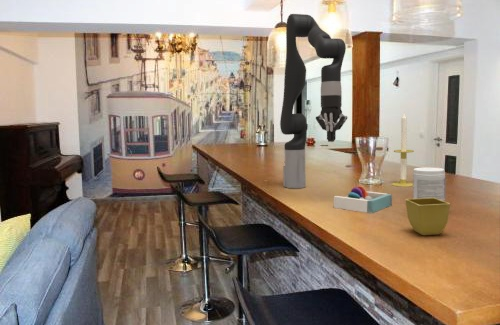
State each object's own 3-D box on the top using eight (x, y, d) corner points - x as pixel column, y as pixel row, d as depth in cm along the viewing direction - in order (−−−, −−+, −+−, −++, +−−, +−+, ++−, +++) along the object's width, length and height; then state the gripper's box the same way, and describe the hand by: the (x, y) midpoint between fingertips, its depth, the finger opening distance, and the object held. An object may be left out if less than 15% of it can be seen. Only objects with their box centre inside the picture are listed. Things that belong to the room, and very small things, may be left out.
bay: (333, 207, 153) (333, 196, 152) (355, 200, 164) (355, 190, 163) (371, 213, 143) (371, 201, 142) (391, 205, 154) (391, 194, 153)
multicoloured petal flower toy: (375, 206, 154) (375, 186, 153) (360, 211, 147) (360, 190, 146) (355, 203, 160) (355, 183, 159) (339, 207, 153) (339, 187, 152)
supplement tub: (451, 215, 137) (452, 169, 135) (424, 218, 135) (425, 171, 133) (431, 209, 146) (432, 166, 144) (406, 211, 144) (407, 168, 142)
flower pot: (404, 229, 123) (404, 198, 122) (433, 227, 124) (434, 197, 123) (418, 238, 114) (419, 205, 113) (450, 236, 115) (451, 203, 114)
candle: (390, 186, 191) (391, 112, 187) (392, 182, 200) (392, 112, 196) (414, 187, 187) (415, 111, 183) (415, 183, 196) (416, 111, 192)
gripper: (310, 95, 160) (310, 141, 162) (341, 93, 151) (341, 142, 153) (321, 95, 165) (322, 140, 167) (352, 93, 156) (352, 141, 158)
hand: (331, 141), depth 160 cm, fingers closed
